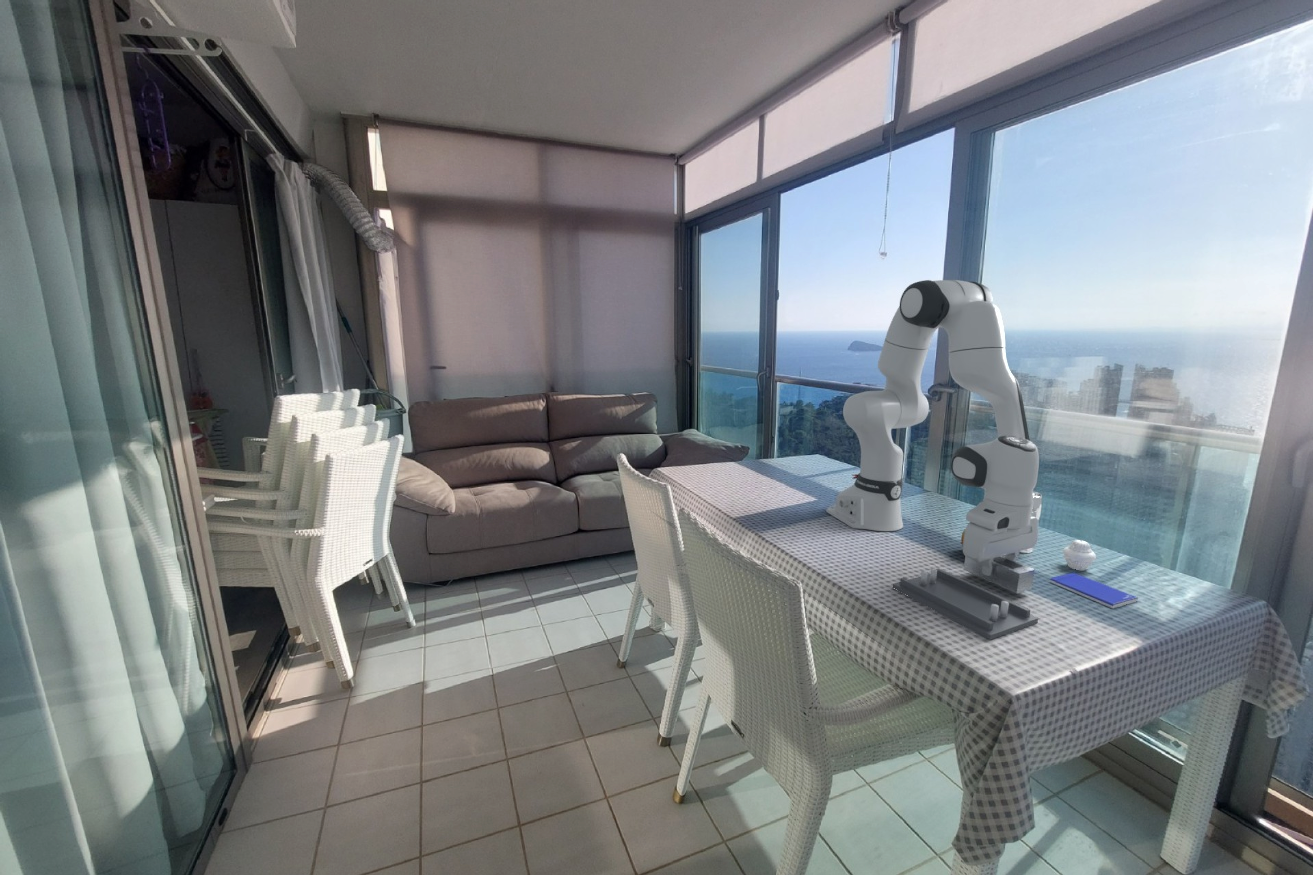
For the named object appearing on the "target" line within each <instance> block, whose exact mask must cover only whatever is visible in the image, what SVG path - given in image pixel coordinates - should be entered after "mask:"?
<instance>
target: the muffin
mask: <svg viewBox="0 0 1313 875" xmlns="http://www.w3.org/2000/svg"><path fill="white" fill-rule="evenodd" d="M1062 553H1063V557H1064V559H1065V560H1064V561H1066V564H1067V566H1068V567H1069V568H1070V569H1072V570H1075V569H1076V571H1081V572H1082V571H1086V570H1087V569H1088V568H1089V567H1090V566H1091V565H1092V564H1093V563H1094V561H1095V560H1096V559H1097V554H1096V553H1095V552H1094V551H1093V550H1092V549H1091V545H1090V544H1089V542H1087V541H1085V540H1083V539H1074V540H1073V541H1071V543H1070V544H1069V545H1068V546H1065V547H1064V548H1063V549H1062Z"/></svg>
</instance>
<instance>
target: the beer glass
mask: <svg viewBox="0 0 1313 875" xmlns="http://www.w3.org/2000/svg"><path fill="white" fill-rule="evenodd" d="M1032 496H1033V509H1034V510H1035V511H1036V518H1037V519H1038V522H1039V521H1040V518H1041V513H1042V505H1043V504H1042V502H1043V499H1042V498H1043V495H1042V493H1040V492H1038V491H1035V490H1033V493H1032ZM1033 551H1034V547H1033V548H1029V549H1026V550H1022V551H1019V554H1020V553H1021V554H1029V553H1033Z"/></svg>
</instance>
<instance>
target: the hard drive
mask: <svg viewBox="0 0 1313 875" xmlns="http://www.w3.org/2000/svg"><path fill="white" fill-rule="evenodd" d="M1049 579H1050V580H1049V583H1051V584H1054V585H1055V586H1059V587H1060V588H1062V589H1065V590H1067V591H1070V592H1073V593H1075V594H1077V595H1079V596H1082V597H1084V598H1087V599H1089V600H1092V601H1095V602H1096V603H1098V604H1100V605H1103V606H1106V607H1108V608H1111V609H1116V608H1119V607H1123V606H1126V604H1127V605H1129V604H1133V603H1136V601H1137V602H1138V600H1139V598H1138V597H1136V596H1135V595H1132V594H1129V593H1127V592H1124V591H1122V590H1119V589H1117V588H1114V587H1111V586H1109V585H1106V584H1104V583H1101V582H1099V581H1096V580H1093V579H1091V578H1088V577H1085V576H1083V575H1080V574H1078V573H1075V572H1071V573H1065V574H1062V575H1057V576H1054V577H1053V576H1052V577H1051V578H1049Z"/></svg>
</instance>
